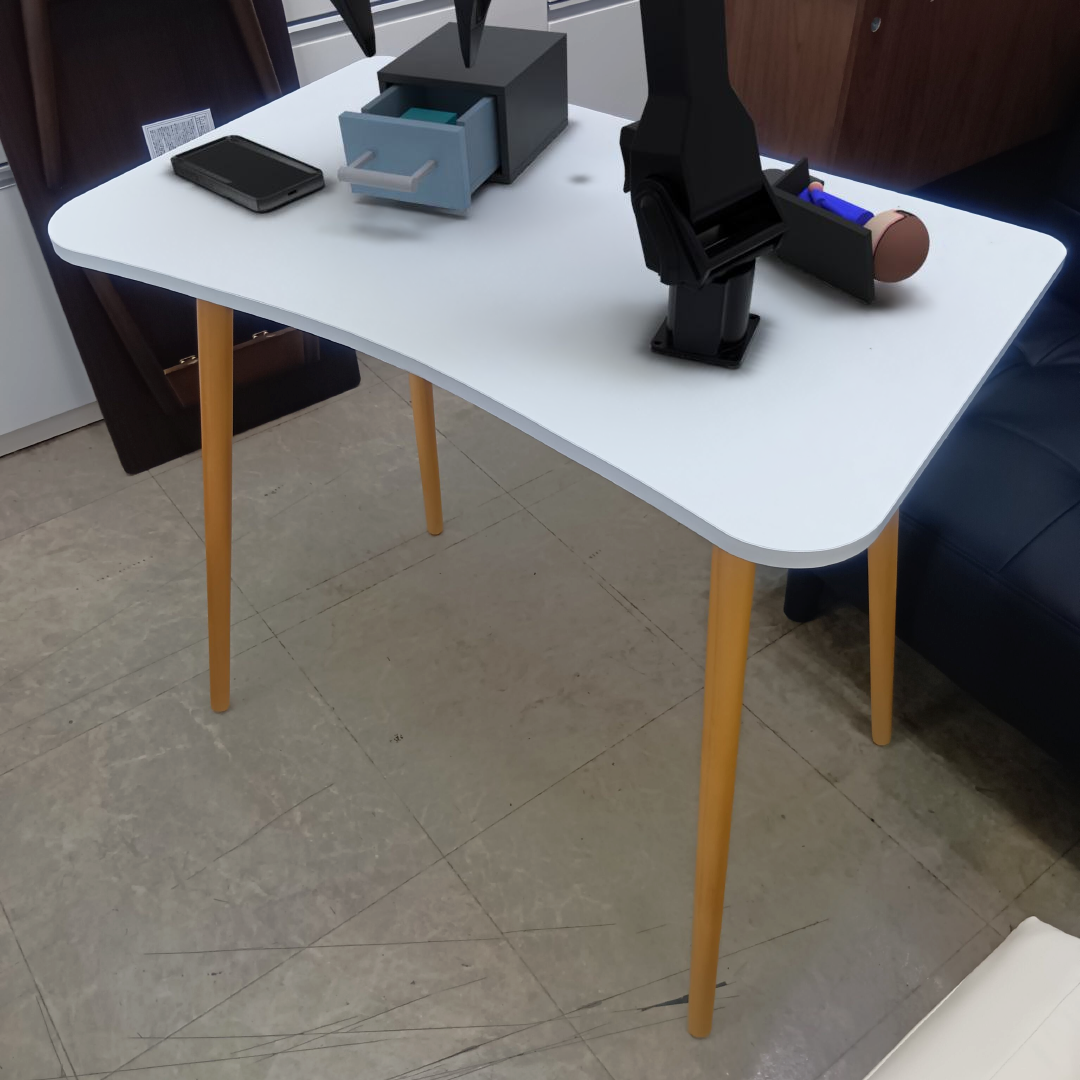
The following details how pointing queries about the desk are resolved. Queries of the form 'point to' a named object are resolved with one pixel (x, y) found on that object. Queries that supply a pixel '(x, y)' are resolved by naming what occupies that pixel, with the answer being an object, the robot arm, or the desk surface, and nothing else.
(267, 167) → the phone
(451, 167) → the light blue drawer
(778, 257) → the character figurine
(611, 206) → the desk surface
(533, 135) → the drawer cabinet
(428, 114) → the teal cube
